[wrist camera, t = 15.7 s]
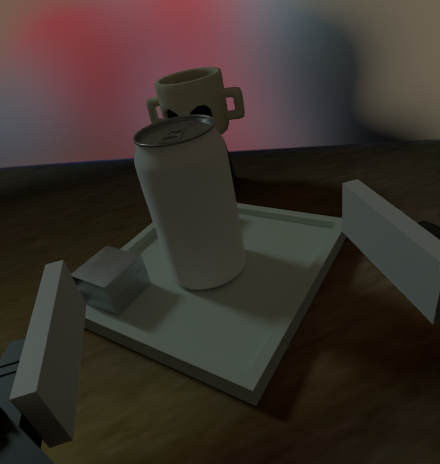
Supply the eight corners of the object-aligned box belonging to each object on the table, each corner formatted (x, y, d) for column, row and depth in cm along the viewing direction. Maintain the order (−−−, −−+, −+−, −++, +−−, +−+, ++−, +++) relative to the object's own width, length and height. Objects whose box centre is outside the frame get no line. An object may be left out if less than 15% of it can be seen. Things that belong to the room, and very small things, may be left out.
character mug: (160, 203, 45) (126, 91, 38) (178, 176, 50) (152, 74, 43) (250, 199, 42) (231, 76, 35) (259, 170, 47) (244, 60, 40)
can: (251, 242, 33) (228, 107, 27) (241, 293, 28) (211, 141, 22) (182, 245, 35) (145, 118, 29) (161, 294, 30) (110, 152, 23)
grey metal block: (118, 316, 29) (104, 287, 27) (84, 303, 31) (69, 275, 29) (151, 283, 31) (140, 254, 30) (118, 272, 33) (106, 245, 32)
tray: (256, 406, 21) (252, 391, 21) (62, 317, 31) (54, 304, 30) (348, 233, 33) (348, 219, 33) (187, 207, 43) (184, 195, 42)
